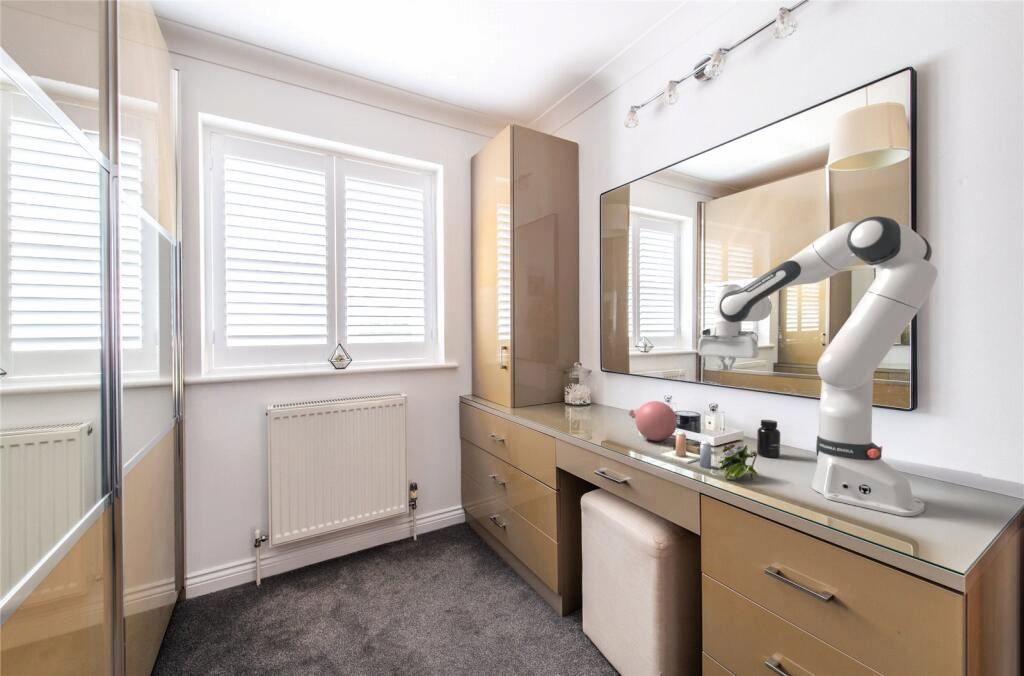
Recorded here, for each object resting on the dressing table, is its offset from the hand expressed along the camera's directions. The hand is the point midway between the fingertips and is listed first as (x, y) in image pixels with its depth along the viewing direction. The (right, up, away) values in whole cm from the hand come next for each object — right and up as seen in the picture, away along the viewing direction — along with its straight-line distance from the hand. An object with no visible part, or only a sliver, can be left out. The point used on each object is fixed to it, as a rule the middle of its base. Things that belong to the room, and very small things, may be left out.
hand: (726, 369), depth 150 cm
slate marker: (-15, -29, -16) cm, 37 cm away
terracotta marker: (-19, -29, -7) cm, 35 cm away
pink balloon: (-21, -29, +17) cm, 40 cm away
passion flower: (-9, -30, -26) cm, 40 cm away
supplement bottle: (+12, -29, -4) cm, 32 cm away
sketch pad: (-18, -29, -6) cm, 35 cm away
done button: (-11, -29, +1) cm, 31 cm away
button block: (-11, -29, +1) cm, 31 cm away
